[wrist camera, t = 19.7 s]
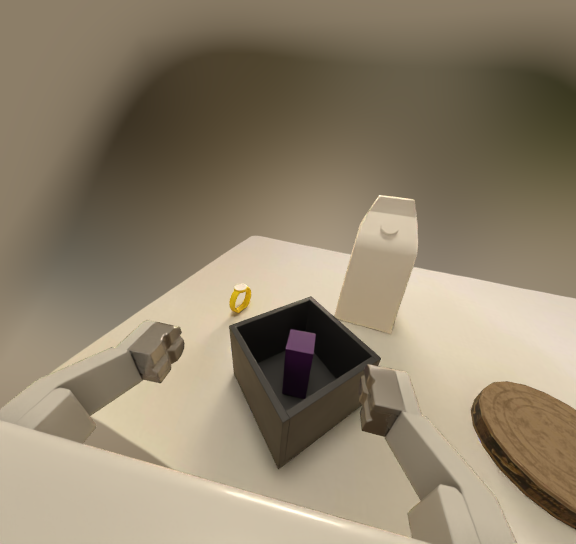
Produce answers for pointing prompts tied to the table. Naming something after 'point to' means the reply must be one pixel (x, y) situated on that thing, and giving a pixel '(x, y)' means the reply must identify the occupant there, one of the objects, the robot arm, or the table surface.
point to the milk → (380, 264)
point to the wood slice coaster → (531, 443)
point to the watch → (237, 290)
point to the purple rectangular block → (298, 363)
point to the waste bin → (322, 382)
